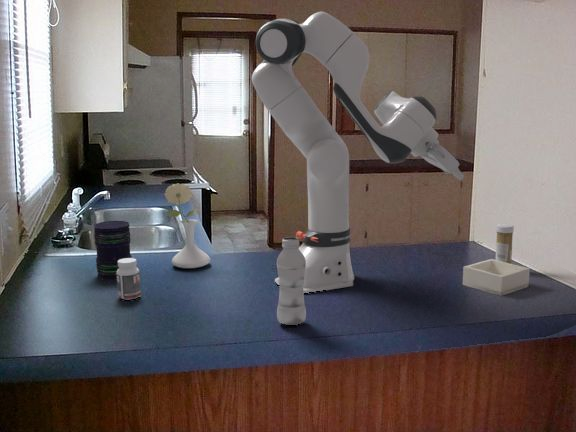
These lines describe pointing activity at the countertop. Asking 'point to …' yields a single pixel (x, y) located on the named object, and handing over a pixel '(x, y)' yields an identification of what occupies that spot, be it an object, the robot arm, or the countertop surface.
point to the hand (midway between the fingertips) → (456, 175)
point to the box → (496, 277)
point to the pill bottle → (128, 279)
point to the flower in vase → (186, 229)
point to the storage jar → (111, 247)
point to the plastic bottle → (291, 283)
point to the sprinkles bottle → (504, 242)
